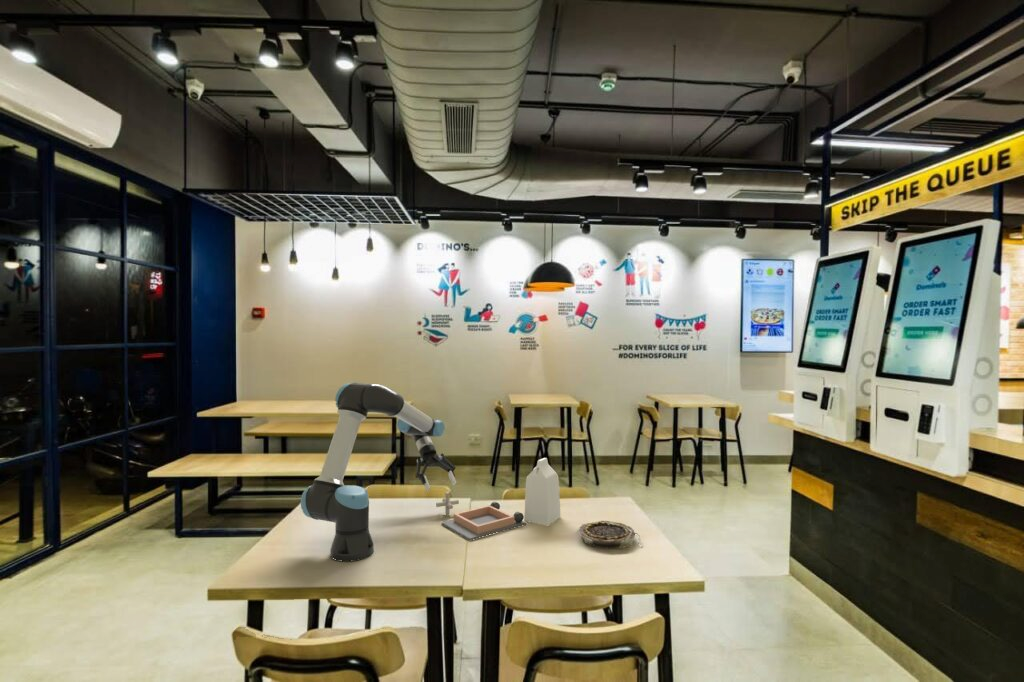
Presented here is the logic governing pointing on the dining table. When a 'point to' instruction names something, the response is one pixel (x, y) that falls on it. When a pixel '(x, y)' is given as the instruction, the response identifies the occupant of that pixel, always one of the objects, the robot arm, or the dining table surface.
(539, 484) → the milk
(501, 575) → the dining table surface
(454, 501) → the pipe connector
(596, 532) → the pie
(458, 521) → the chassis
